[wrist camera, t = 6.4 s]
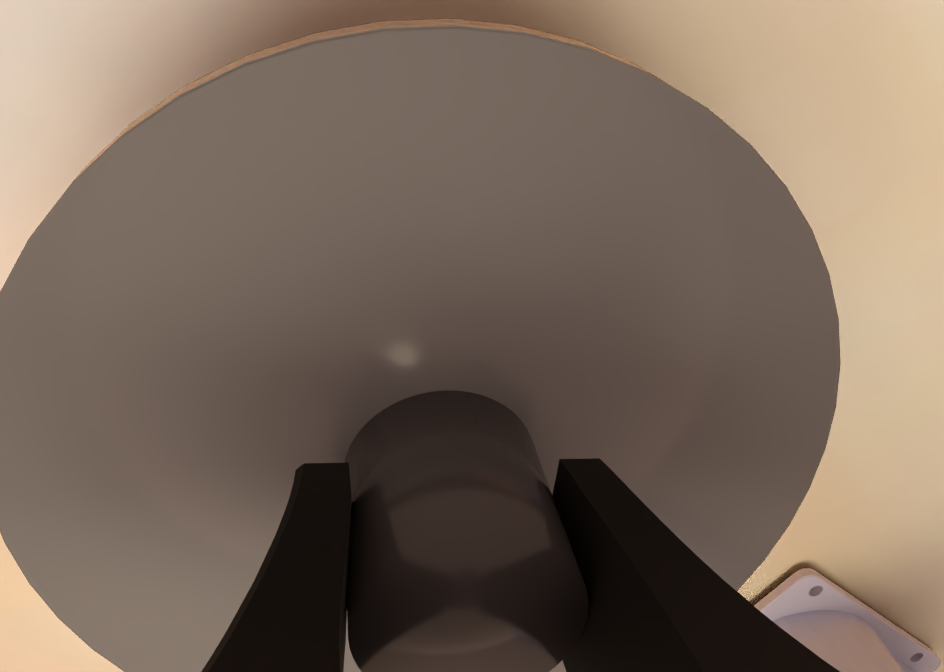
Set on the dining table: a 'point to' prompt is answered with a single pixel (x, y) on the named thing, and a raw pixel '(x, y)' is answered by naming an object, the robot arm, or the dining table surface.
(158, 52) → the dining table surface
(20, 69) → the dining table surface
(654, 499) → the lid
